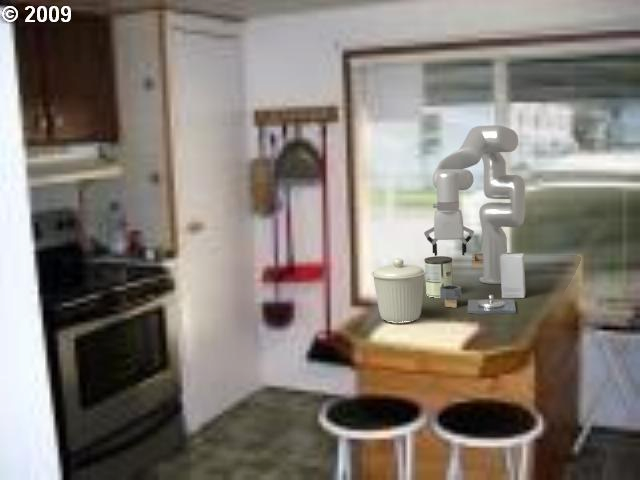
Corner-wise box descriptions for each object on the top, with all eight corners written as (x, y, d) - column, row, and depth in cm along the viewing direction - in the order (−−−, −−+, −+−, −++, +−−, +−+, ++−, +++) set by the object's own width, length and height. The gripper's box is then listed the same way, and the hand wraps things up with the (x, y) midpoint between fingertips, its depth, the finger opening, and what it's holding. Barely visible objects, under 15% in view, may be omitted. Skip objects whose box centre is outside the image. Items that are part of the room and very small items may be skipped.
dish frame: (472, 260, 365) (472, 253, 364) (515, 259, 361) (515, 252, 360) (471, 268, 345) (471, 261, 344) (517, 268, 341) (517, 261, 340)
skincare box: (525, 294, 292) (525, 253, 290) (524, 298, 286) (523, 256, 284) (502, 294, 295) (501, 253, 293) (500, 298, 289) (499, 256, 287)
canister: (413, 329, 254) (411, 264, 251) (364, 324, 264) (361, 262, 261) (436, 315, 269) (434, 254, 266) (388, 311, 279) (386, 252, 276)
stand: (445, 303, 286) (445, 291, 285) (457, 303, 285) (456, 291, 285) (445, 307, 280) (444, 295, 279) (456, 307, 279) (456, 295, 278)
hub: (468, 302, 285) (468, 290, 285) (514, 302, 282) (513, 289, 281) (467, 313, 270) (467, 300, 269) (515, 313, 266) (515, 300, 266)
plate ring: (441, 294, 286) (440, 285, 286) (461, 294, 285) (461, 285, 284) (440, 299, 279) (439, 289, 279) (460, 299, 278) (460, 289, 277)
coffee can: (430, 291, 306) (429, 255, 304) (456, 292, 302) (455, 256, 299) (422, 297, 297) (420, 260, 294) (449, 299, 292) (447, 261, 290)
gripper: (422, 208, 275) (424, 257, 278) (473, 207, 272) (474, 256, 274) (424, 206, 283) (425, 253, 285) (473, 204, 279) (474, 252, 282)
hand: (449, 255), depth 280 cm, fingers open, 9 cm apart
